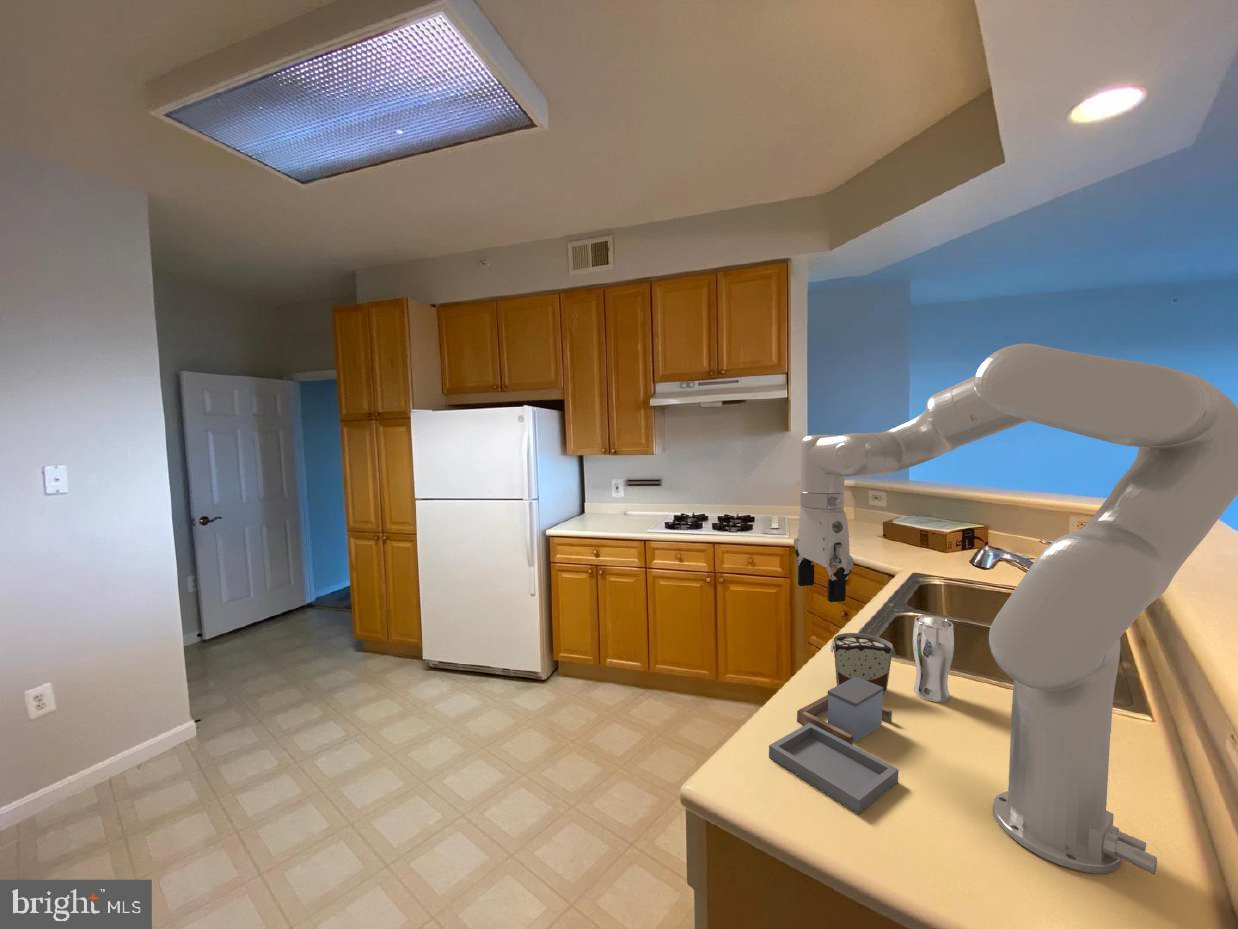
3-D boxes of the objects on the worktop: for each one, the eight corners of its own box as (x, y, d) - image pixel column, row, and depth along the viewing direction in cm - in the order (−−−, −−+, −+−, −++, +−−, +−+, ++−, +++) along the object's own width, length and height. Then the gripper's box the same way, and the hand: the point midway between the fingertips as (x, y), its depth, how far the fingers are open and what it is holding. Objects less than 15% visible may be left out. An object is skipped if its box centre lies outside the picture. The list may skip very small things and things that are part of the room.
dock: (891, 721, 91) (891, 710, 91) (849, 749, 83) (849, 737, 82) (839, 698, 99) (840, 688, 99) (796, 721, 91) (797, 710, 91)
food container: (881, 678, 107) (882, 632, 106) (894, 693, 101) (895, 644, 100) (821, 676, 108) (822, 630, 107) (830, 690, 102) (831, 642, 101)
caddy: (882, 725, 90) (883, 687, 89) (854, 743, 84) (855, 703, 84) (854, 712, 94) (855, 676, 93) (826, 729, 88) (827, 690, 88)
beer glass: (960, 704, 96) (963, 628, 96) (924, 704, 96) (926, 628, 96) (937, 686, 103) (940, 615, 102) (904, 686, 103) (906, 615, 103)
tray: (898, 782, 75) (898, 769, 75) (858, 814, 68) (859, 800, 68) (809, 733, 87) (809, 722, 87) (768, 757, 81) (769, 745, 80)
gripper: (871, 507, 84) (869, 607, 85) (813, 495, 101) (812, 579, 102) (831, 508, 83) (829, 610, 84) (779, 496, 100) (778, 581, 101)
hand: (820, 592), depth 93 cm, fingers open, 9 cm apart
